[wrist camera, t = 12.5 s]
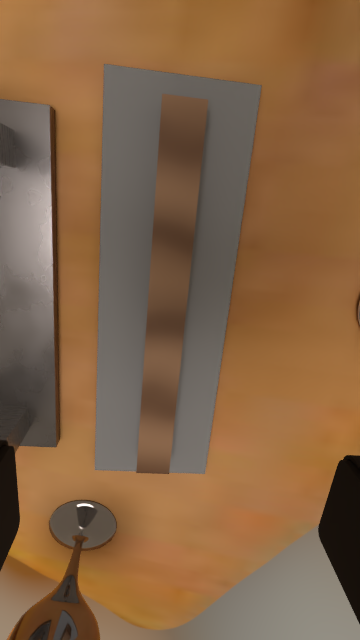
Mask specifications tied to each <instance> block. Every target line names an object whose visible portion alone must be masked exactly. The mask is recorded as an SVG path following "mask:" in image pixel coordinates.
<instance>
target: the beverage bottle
mask: <svg viewBox="0 0 360 640" xmlns="http://www.w3.org/2000/svg"><path fill="white" fill-rule="evenodd" d="M358 320H359V324H360V301H359V306H358Z"/></svg>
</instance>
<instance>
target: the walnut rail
mask: <svg viewBox="0 0 360 640" xmlns="http://www.w3.org/2000/svg"><path fill="white" fill-rule="evenodd" d="M207 108H208V99H200V98H192V97H184V96H177V95H169V94H162V103H161V118H160V132H159V147H158V162H157V176H156V191H155V206H154V220H153V235H152V250H151V264H150V279H149V294H148V309H147V323H146V338H145V353H144V367H143V382H142V397H141V411H140V426H139V441H138V455H137V470H136V473H157V474H169V470H170V460H171V451H172V441H173V432H174V422H175V413H176V403H177V394H178V384H179V375H180V365H181V356H182V346H183V337H184V327H185V318H186V308H187V298H188V289H189V279H190V270H191V260H192V251H193V241H194V232H195V222H196V213H197V203H198V194H199V184H200V175H201V165H202V156H203V146H204V136H205V127H206V117H207Z"/></svg>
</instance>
